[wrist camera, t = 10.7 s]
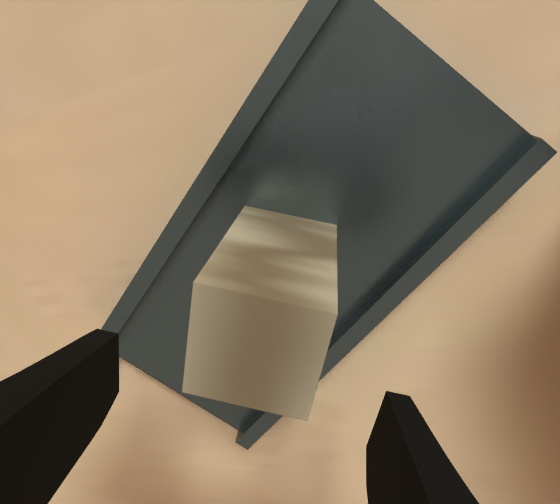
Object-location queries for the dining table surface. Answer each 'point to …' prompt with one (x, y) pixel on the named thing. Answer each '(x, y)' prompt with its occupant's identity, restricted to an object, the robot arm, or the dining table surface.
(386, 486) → the robot arm
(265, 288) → the peg
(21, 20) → the dining table surface
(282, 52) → the tray
